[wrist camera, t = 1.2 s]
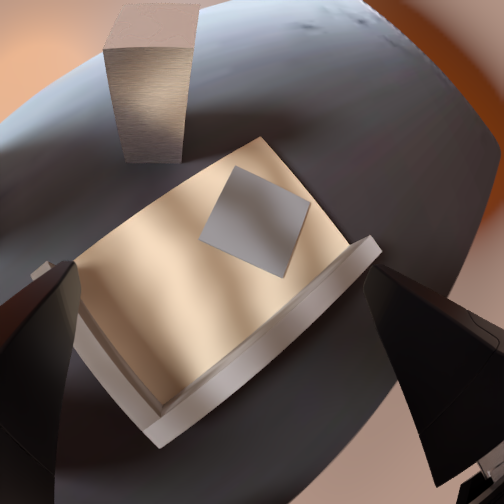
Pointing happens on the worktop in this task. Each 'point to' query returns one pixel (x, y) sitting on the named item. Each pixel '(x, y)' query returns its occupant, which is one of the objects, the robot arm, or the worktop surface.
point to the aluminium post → (151, 78)
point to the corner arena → (208, 288)
